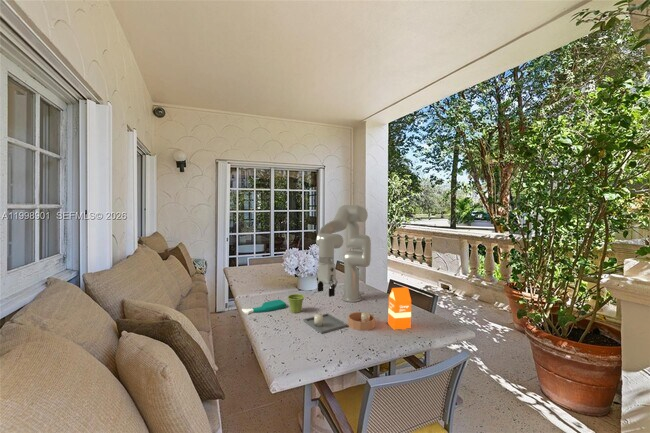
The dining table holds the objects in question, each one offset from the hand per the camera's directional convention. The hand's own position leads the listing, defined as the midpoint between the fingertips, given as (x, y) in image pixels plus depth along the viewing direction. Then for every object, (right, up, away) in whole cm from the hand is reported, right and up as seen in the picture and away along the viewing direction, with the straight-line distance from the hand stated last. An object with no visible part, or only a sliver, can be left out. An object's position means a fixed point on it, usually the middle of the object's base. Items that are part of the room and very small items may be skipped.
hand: (325, 293), depth 147 cm
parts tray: (-1, -17, +3) cm, 17 cm away
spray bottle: (-36, -16, +24) cm, 46 cm away
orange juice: (+37, -17, +2) cm, 41 cm away
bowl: (+18, -17, +2) cm, 25 cm away
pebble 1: (-4, -16, +1) cm, 17 cm away
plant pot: (-17, -16, +20) cm, 31 cm away
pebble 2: (+20, -16, +4) cm, 26 cm away
